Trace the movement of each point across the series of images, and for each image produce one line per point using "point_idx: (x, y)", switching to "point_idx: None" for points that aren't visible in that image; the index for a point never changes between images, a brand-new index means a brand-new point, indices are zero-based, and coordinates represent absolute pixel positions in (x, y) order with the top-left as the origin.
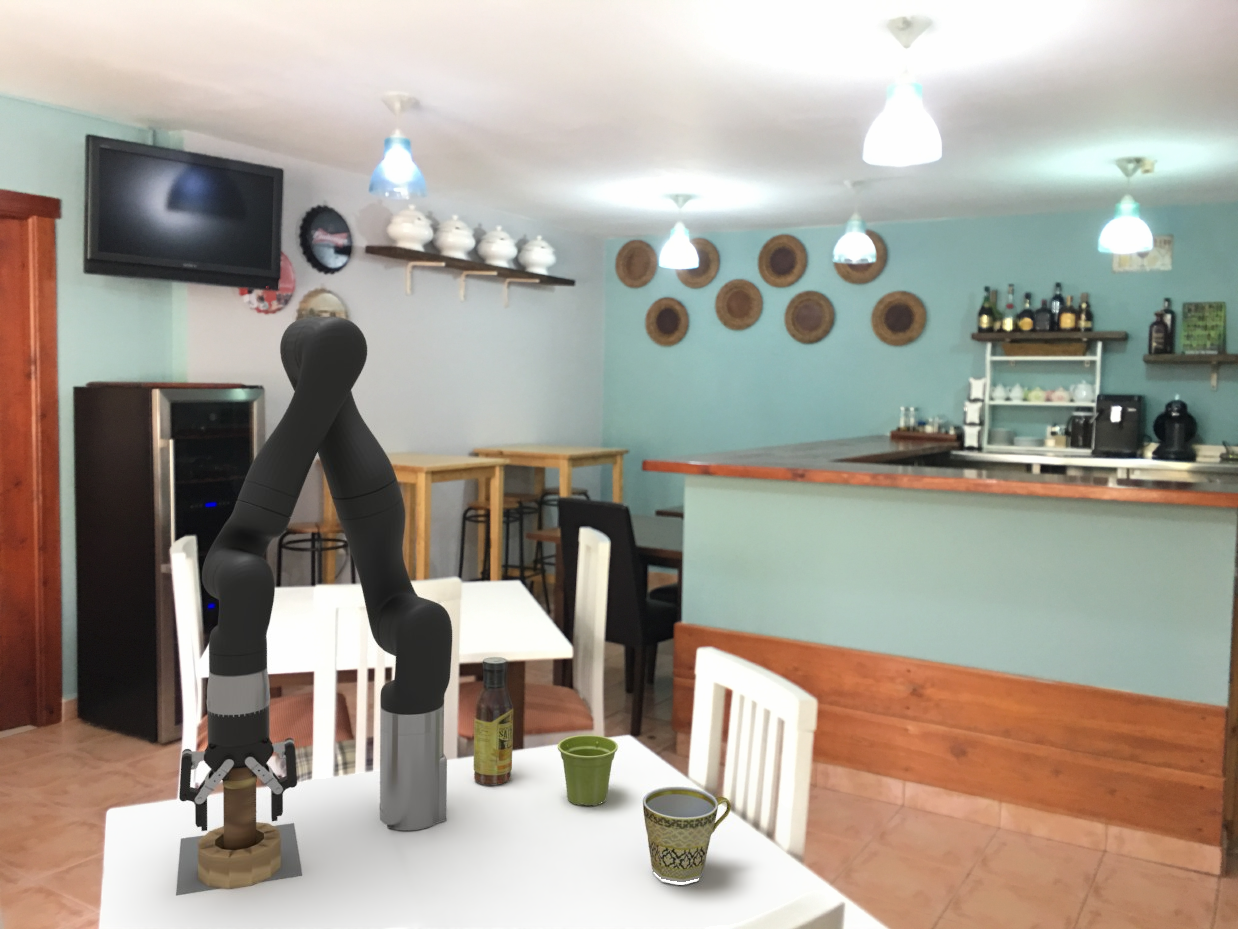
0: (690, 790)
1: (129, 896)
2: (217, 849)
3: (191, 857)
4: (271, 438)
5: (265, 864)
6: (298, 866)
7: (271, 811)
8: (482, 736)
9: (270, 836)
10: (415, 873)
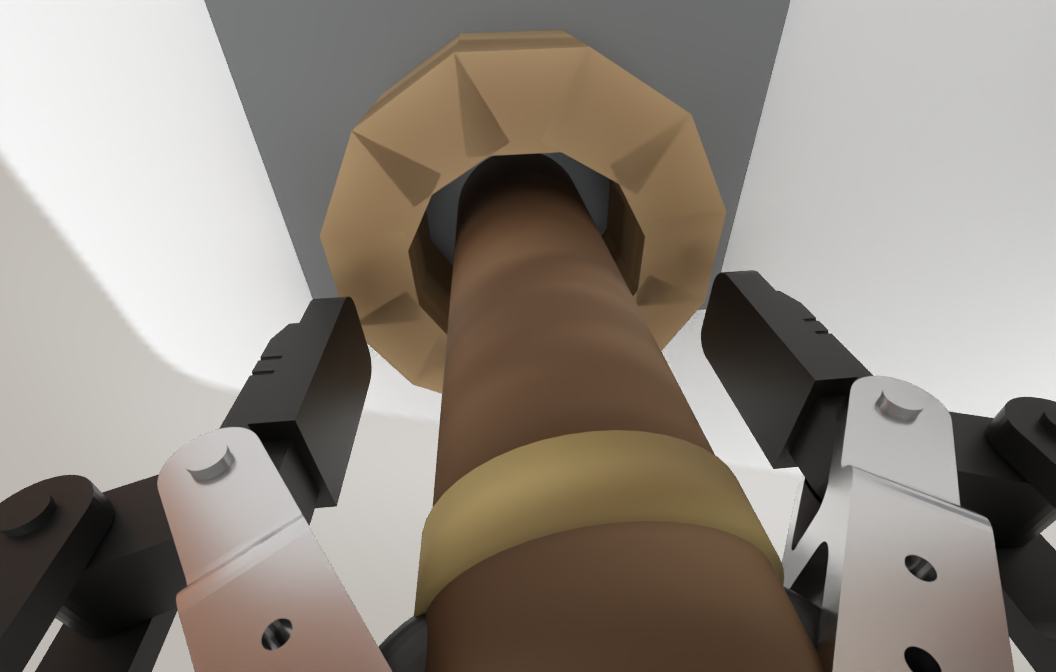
0: None
1: (151, 277)
2: (437, 341)
3: (276, 28)
4: None
5: None
6: (718, 250)
7: (727, 325)
8: None
9: (667, 277)
10: (988, 337)
